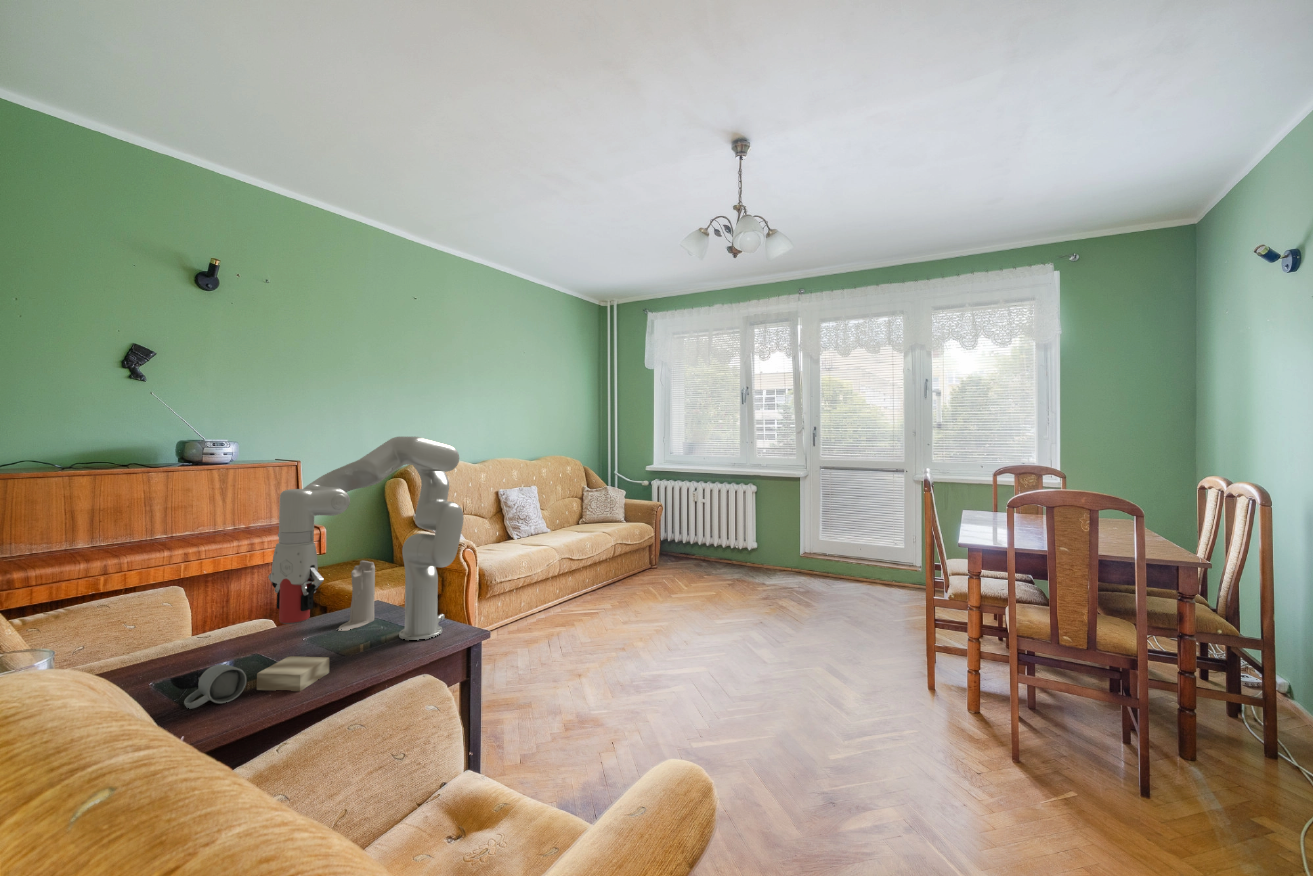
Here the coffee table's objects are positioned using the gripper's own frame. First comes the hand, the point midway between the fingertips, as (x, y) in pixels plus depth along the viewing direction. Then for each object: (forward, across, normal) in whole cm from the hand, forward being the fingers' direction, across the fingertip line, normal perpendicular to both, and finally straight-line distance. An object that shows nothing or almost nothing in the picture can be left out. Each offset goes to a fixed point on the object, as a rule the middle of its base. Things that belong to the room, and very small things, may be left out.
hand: (295, 608), depth 141 cm
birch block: (+18, 0, 0) cm, 18 cm away
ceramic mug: (+19, -9, -13) cm, 24 cm away
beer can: (+3, 0, 0) cm, 3 cm away
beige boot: (+18, -18, +41) cm, 49 cm away
